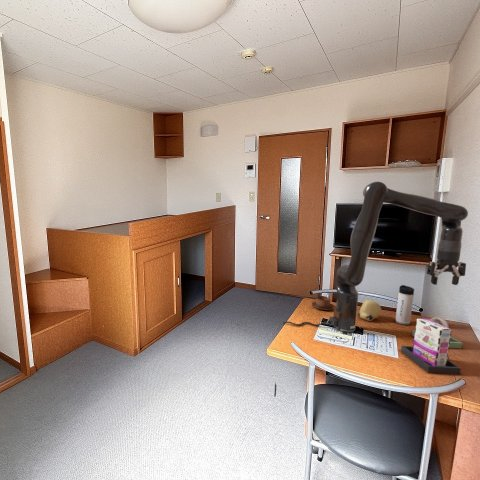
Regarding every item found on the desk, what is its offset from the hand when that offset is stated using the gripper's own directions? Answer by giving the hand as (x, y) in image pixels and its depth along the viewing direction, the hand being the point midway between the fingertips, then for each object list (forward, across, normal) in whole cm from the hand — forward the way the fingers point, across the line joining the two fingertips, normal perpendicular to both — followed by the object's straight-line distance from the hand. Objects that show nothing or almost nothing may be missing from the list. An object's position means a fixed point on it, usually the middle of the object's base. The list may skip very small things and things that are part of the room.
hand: (444, 284), depth 144 cm
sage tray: (+28, 0, 0) cm, 28 cm away
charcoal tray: (+28, +16, +19) cm, 38 cm away
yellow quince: (+28, +17, -25) cm, 41 cm away
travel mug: (+28, +2, -21) cm, 35 cm away
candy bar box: (+28, +16, +19) cm, 37 cm away
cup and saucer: (+28, +36, -39) cm, 60 cm away
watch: (+28, 0, 0) cm, 28 cm away
